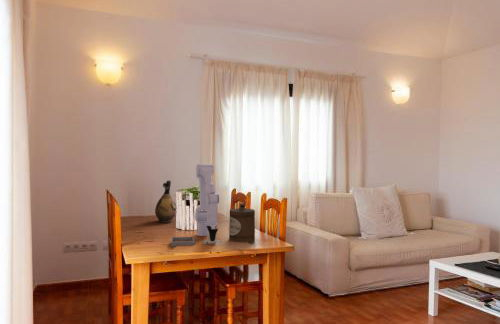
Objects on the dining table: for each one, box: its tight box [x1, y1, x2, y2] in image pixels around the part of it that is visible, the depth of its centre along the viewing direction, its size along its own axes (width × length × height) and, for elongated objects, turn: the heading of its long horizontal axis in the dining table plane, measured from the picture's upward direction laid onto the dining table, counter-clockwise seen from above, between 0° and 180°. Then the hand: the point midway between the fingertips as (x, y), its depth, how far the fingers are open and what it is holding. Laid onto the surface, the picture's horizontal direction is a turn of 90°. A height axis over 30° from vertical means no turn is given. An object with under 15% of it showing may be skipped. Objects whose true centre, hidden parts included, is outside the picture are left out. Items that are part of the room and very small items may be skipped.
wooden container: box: [228, 202, 256, 244], centre depth 230 cm, size 15×15×22 cm
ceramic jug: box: [154, 180, 177, 223], centre depth 292 cm, size 17×15×30 cm
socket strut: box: [207, 231, 217, 243], centre depth 220 cm, size 4×4×6 cm
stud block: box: [201, 239, 223, 246], centre depth 220 cm, size 12×10×5 cm
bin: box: [170, 236, 195, 249], centre depth 218 cm, size 12×12×3 cm
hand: (211, 239), depth 220 cm, fingers open, 6 cm apart
